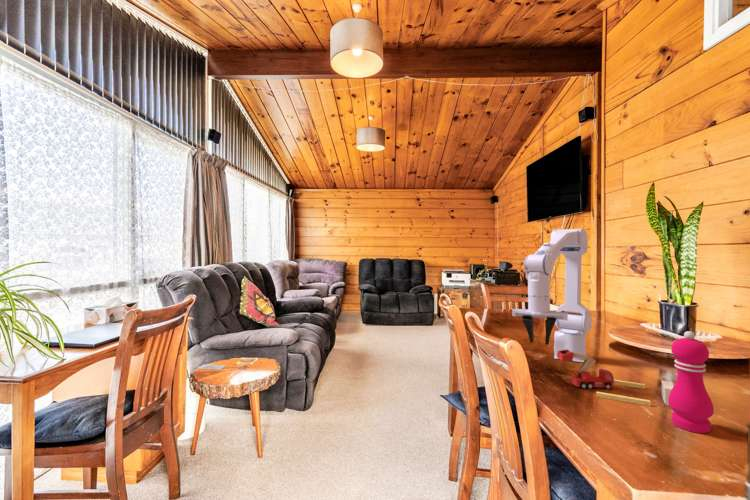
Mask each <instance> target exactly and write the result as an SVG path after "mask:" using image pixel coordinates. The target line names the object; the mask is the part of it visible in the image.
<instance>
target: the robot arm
mask: <svg viewBox="0 0 750 500" xmlns="http://www.w3.org/2000/svg"><path fill="white" fill-rule="evenodd" d="M588 240H589V236H588V233H587V231H586V229H585V228H584V227H583V228H582V227H580V228H570V229H569V228H566V229H553V231H551V234H550V241H549V242H544V243H543V244H542V245H541V246H540V247H539V248H538V250H536V251H535V252H534V253H533V254H528V255H527V256H526V257H525V258H524V262H523V270H524V272H525V279H526V280H527V297H528V298H527V301H528V302H527V308H512V310H511V315H512V317H522V318H521V321H522V323H523V325H524V327H525V330H526V332H527V334H528V338H529V343H531V344H533V343H534V341H535V340H534V339H535V337H534V336H535V335H534V320H535V319H534V318H536V319H537V318H538V319H545V321H544V324H545V325H544V326H545V327H544V328H545V340H544V341H545V345H546V346H547V345H549V344H550V337H551V334H552V331H553V329H554V326H555V327H556V328H557V329H558V330H555V331H554V336H553V337H554V339H553V340H554V341H553V342H554V343H553V344H554V346H553V353H554V359H556V360H560V359H559V358H557V352H558V351H561V350H567V349H568V350H569V351H571V352H575V353H579V354H583V355H586V356H588V355H587V354H586V353H587V351H586V350H587V349H586V347H587V346H586V342H587V341H586V335H587V334H588V333H589V332H590V331H591V328H592V317H591V311H590V309H589V308H588V307H586V306H585V305H583V303H582V260H583V258H582V257H583V255H584V254H587V253H588V249H589V248H588V247H589V246H588V243H589V241H588ZM560 255H563V256H564V257H565V263H564V264H565V267H564V271H565V272H564V273H565V275H564V303H563V304H562V303H561V305H560V306H558V307H557V308H556V311H555V310H551V299H550V298H551V297H550V295H551V290H550V289H551V288H550V275H551V274H552V273H553V271H554V266H555V262H556V261H557V260H558V258H559V257H560ZM572 362H578V363H583V362H584V359H580V358H576V357H573V361H572Z"/></svg>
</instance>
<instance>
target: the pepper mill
mask: <svg viewBox="0 0 750 500" xmlns="http://www.w3.org/2000/svg"><path fill="white" fill-rule="evenodd" d="M683 336H684V337H682V338H678V339H676V340H674V341H673V342H672V345H671V348H670V349H671V350H670V351H671V354H672V355H673V356H674V357H675V359H674V367H675V368H676V373H677V376H676V380H675V382H674V384H673V385H674V387H673V388H672V390H671V392H670V394H669V399H668V403H669V407H670V409H671V410H672V411H673V412H671V416H670V417H671V424H673V425H674V426H675V427H677V428H679V429H681V430H683V431H684V430H685V431H687V432H691V433H697V434H707V433H710V432H711V430H712V428H711V427H712V425H711V421H710V418H711V417H712V416H713V415H714V413H715V411H714V405H713V401H712V399H711V397H710V395H709V393H708V390H707V389H706V386H705V384H704V373H705V372H706V371H707V369H706V367H707V364H706V363H705V362H706V361H708V359H709V357H710V351H709V348H708V346H707V345H706V344H705V343H704V342H702V341H701V340H699V339H695V338H696V335H695V333H694V332H693V331H690V330H687V331H684V333H683Z"/></svg>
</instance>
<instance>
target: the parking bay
mask: <svg viewBox="0 0 750 500" xmlns="http://www.w3.org/2000/svg"><path fill="white" fill-rule="evenodd" d="M613 382H614V385H618V386H623V387H630V388H637V389H642V390H646V384H645V383H639V382H635V381H634V382H632V381H626V380H620V379H614V381H613ZM674 385H675V384H673V381H669V380H668V381H667V380H662V379H661V398H662V400H663V403H664V404H665V406H669V403H668V399H669V394H670V392H671V390H672V388H673V387H674ZM595 394H596V396H595V397H596V398H597V397H598V398H602V399H608V400H614V401H620V402H624V403H630V404H636V405H640V406H642V405H643V406H646V407H647V406H648V407H651V406H652V403H651V400H650V399H643V398H637V397H631V396H625V395H619V394H616V393H615V394H614V393H607V392H603V391H596V393H595ZM669 407H670V406H669Z"/></svg>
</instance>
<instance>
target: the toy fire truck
mask: <svg viewBox="0 0 750 500" xmlns="http://www.w3.org/2000/svg"><path fill="white" fill-rule="evenodd" d="M586 355H587V354H586ZM586 355H583V354H579V353H575V352H571V351H569V350H568V349H567V350H561V351H558V352H557V358H559V359H558V360H560V361H562V362H570V363H571V362H574V361H573V357H576V358H580V359H584V362H581V364H580V366H579V368H578V369H577V372H576V373H577V375H576V376H575V375H571V384H572V385H573V386H575V387H576V388H581V389H586V388H588V389H593V388H605V389H607V390H610V389H611V388H612V389H613V388H614V387H615V384H614V382H613V381H614V380H615V378H614V375H613V373H612V372H611V371H609V370H607V369H603V368H599V369H598V376H594V375H593V374H591V373H590V372H589V371H588V370H590V368H591V367H592V366H594V364H596V362H597V361H596V359H595V358H593V357H592V356H590V355H587V356H586Z"/></svg>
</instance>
